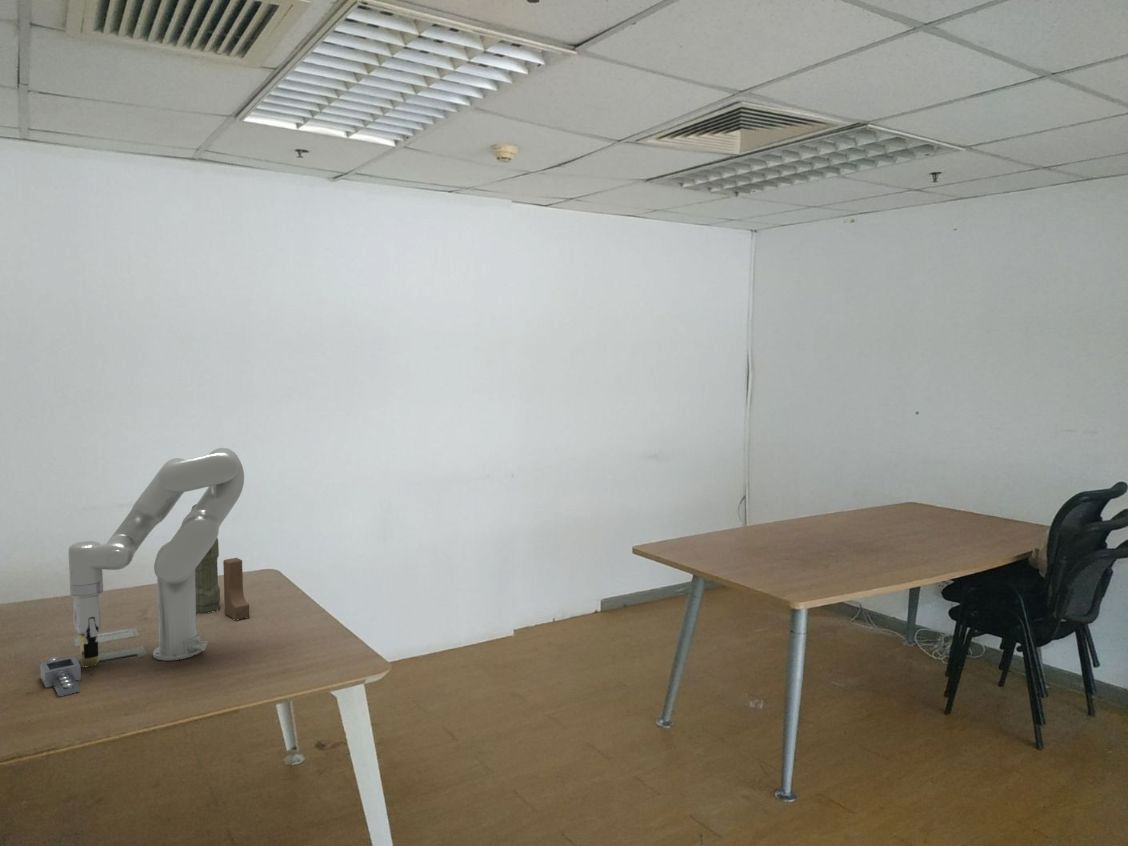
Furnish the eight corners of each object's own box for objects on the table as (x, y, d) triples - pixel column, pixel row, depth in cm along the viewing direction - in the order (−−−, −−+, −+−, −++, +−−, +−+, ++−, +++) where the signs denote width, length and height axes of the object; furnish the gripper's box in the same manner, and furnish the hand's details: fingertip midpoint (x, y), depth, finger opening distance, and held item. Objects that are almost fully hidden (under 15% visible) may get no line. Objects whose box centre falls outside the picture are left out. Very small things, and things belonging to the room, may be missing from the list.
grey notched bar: (87, 690, 192) (86, 674, 191) (51, 698, 187) (50, 682, 186) (69, 661, 209) (69, 647, 209) (36, 669, 204) (35, 654, 204)
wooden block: (250, 617, 246) (248, 562, 244) (235, 621, 243) (234, 565, 241) (238, 611, 252) (236, 557, 251) (224, 614, 249) (222, 559, 248)
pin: (105, 661, 210) (103, 625, 209) (89, 668, 205) (88, 632, 204) (89, 659, 211) (88, 624, 210) (74, 666, 206) (72, 630, 205)
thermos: (198, 616, 246) (194, 508, 243) (185, 608, 255) (182, 503, 252) (226, 610, 252) (223, 505, 250) (212, 602, 261) (210, 500, 258)
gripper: (64, 583, 210) (67, 649, 211) (76, 598, 197) (79, 667, 199) (96, 578, 215) (98, 642, 216) (109, 592, 202) (112, 660, 204)
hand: (89, 654), depth 208 cm, fingers closed on pin, 4 cm apart
